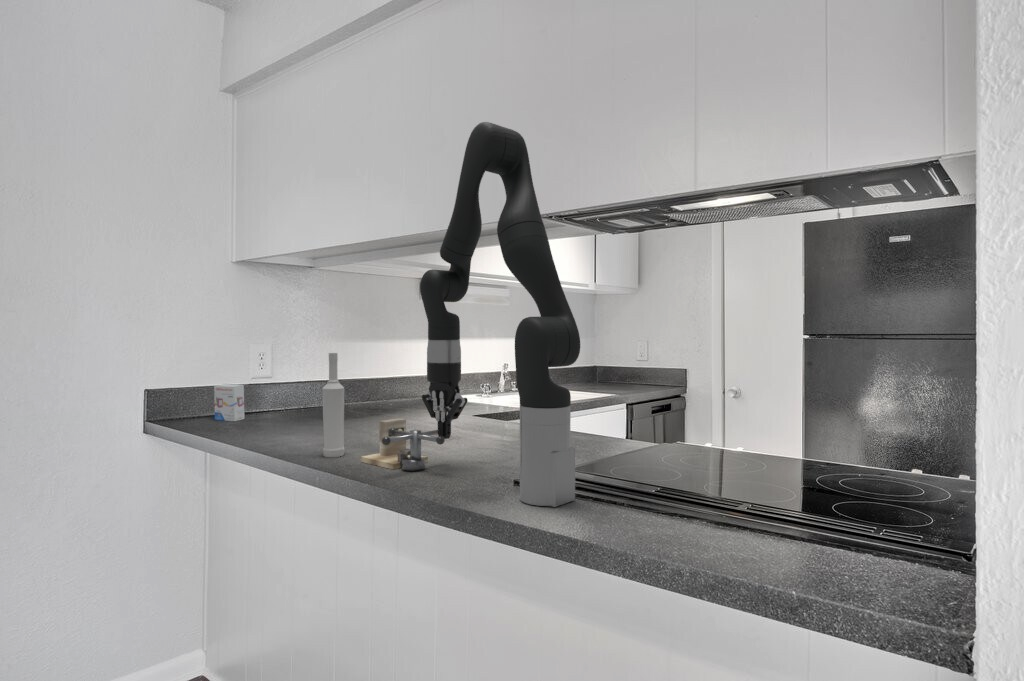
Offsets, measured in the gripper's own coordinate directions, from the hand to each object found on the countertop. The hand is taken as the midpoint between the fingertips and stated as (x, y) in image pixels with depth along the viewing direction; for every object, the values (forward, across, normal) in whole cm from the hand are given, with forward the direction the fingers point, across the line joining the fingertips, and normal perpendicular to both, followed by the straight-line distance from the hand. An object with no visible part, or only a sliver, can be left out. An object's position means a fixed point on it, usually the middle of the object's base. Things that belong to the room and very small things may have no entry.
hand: (444, 438), depth 141 cm
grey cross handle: (+7, +3, +6) cm, 9 cm away
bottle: (+7, +30, +9) cm, 32 cm away
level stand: (+7, +12, +4) cm, 14 cm away
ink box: (+7, +107, -1) cm, 107 cm away
